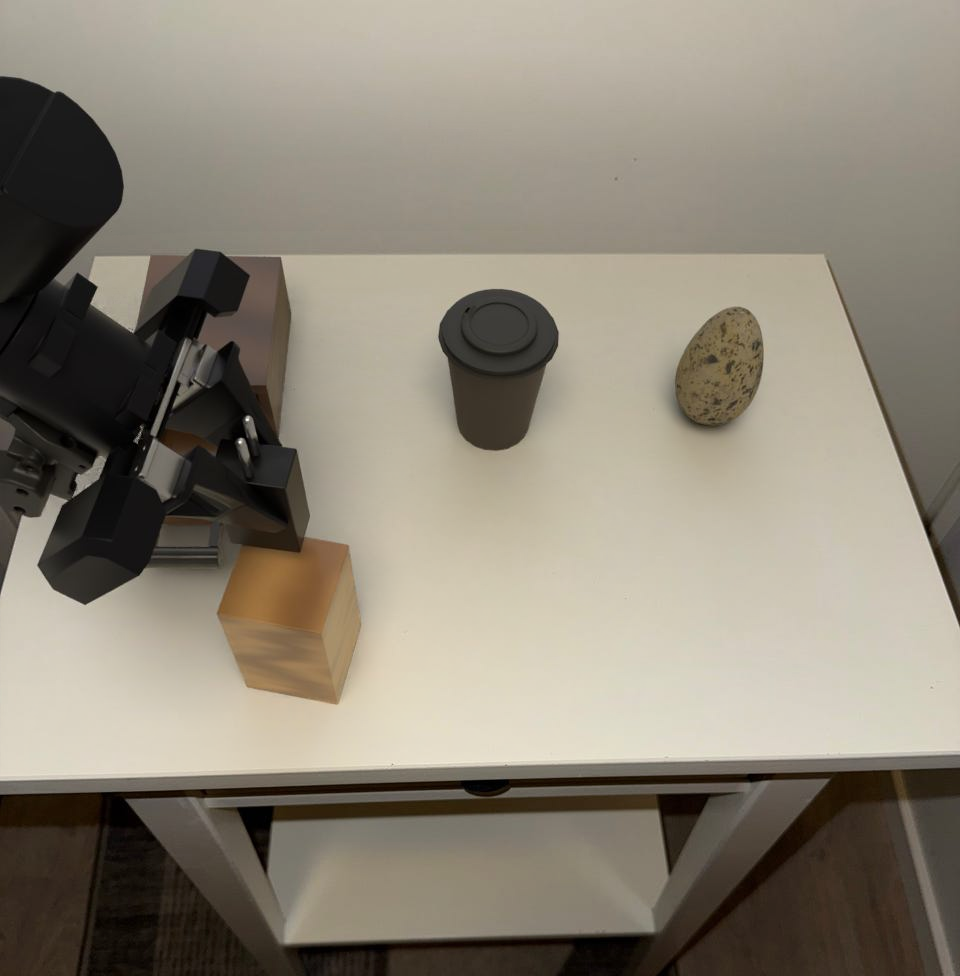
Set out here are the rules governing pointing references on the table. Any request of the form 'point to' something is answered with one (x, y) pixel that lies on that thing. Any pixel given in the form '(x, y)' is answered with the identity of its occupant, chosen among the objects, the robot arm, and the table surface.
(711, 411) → the decorative egg
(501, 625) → the table surface
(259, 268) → the cabinet
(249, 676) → the pedestal
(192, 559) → the drawer
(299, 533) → the black wall charger
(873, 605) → the table surface
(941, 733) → the table surface
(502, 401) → the coffee cup
